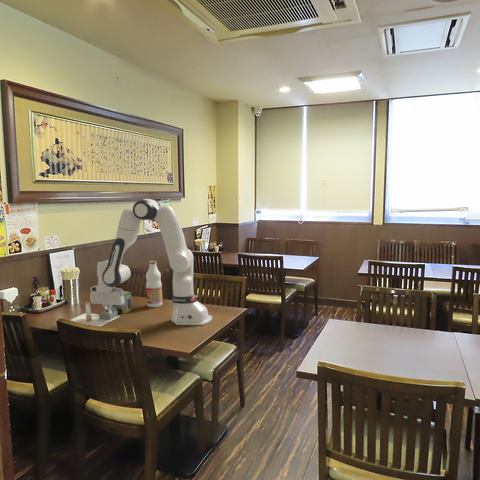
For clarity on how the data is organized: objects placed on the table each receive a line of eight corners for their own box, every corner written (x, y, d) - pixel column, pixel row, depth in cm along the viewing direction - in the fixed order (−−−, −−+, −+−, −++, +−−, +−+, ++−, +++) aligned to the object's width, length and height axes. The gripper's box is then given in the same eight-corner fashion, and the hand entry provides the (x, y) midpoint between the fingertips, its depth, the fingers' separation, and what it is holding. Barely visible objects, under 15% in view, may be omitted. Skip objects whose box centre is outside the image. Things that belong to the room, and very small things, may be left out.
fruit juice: (159, 307, 237) (157, 262, 234) (144, 307, 239) (142, 262, 235) (164, 303, 246) (162, 260, 243) (150, 303, 248) (148, 260, 245)
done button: (113, 316, 220) (113, 310, 220) (109, 318, 216) (109, 312, 216) (107, 315, 221) (107, 310, 221) (103, 317, 217) (103, 312, 217)
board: (120, 316, 221) (120, 310, 221) (100, 327, 204) (100, 320, 204) (85, 314, 228) (84, 308, 228) (63, 324, 211) (62, 317, 211)
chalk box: (133, 310, 233) (131, 286, 231) (122, 314, 225) (120, 290, 223) (121, 308, 237) (120, 285, 236) (110, 313, 229) (108, 288, 227)
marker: (92, 319, 215) (91, 301, 214) (89, 321, 212) (88, 302, 211) (88, 319, 216) (87, 301, 215) (85, 321, 213) (83, 302, 212)
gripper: (126, 287, 217) (127, 311, 218) (95, 285, 223) (96, 308, 224) (119, 289, 211) (120, 314, 212) (87, 288, 217) (89, 312, 218)
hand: (108, 311), depth 218 cm, fingers closed, pressing on done button
